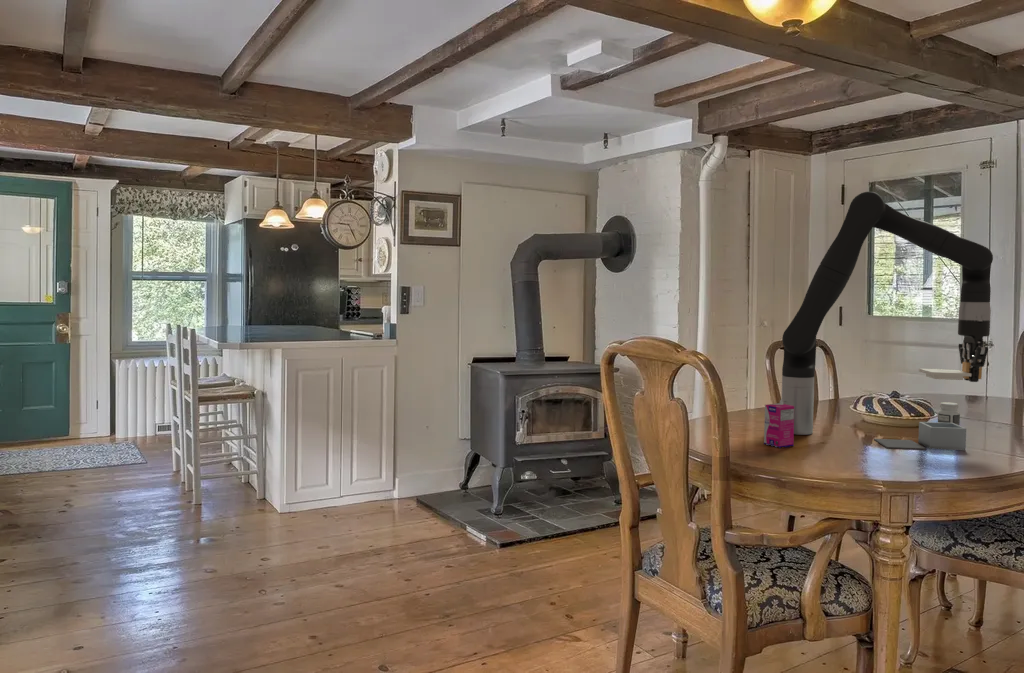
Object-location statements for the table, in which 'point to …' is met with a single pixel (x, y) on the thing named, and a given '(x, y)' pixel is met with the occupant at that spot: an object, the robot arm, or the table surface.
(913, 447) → the mat
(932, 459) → the table surface
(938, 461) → the table surface
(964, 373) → the lid
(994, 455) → the table surface
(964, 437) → the tub
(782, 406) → the supplement box
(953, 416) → the pill bottle
